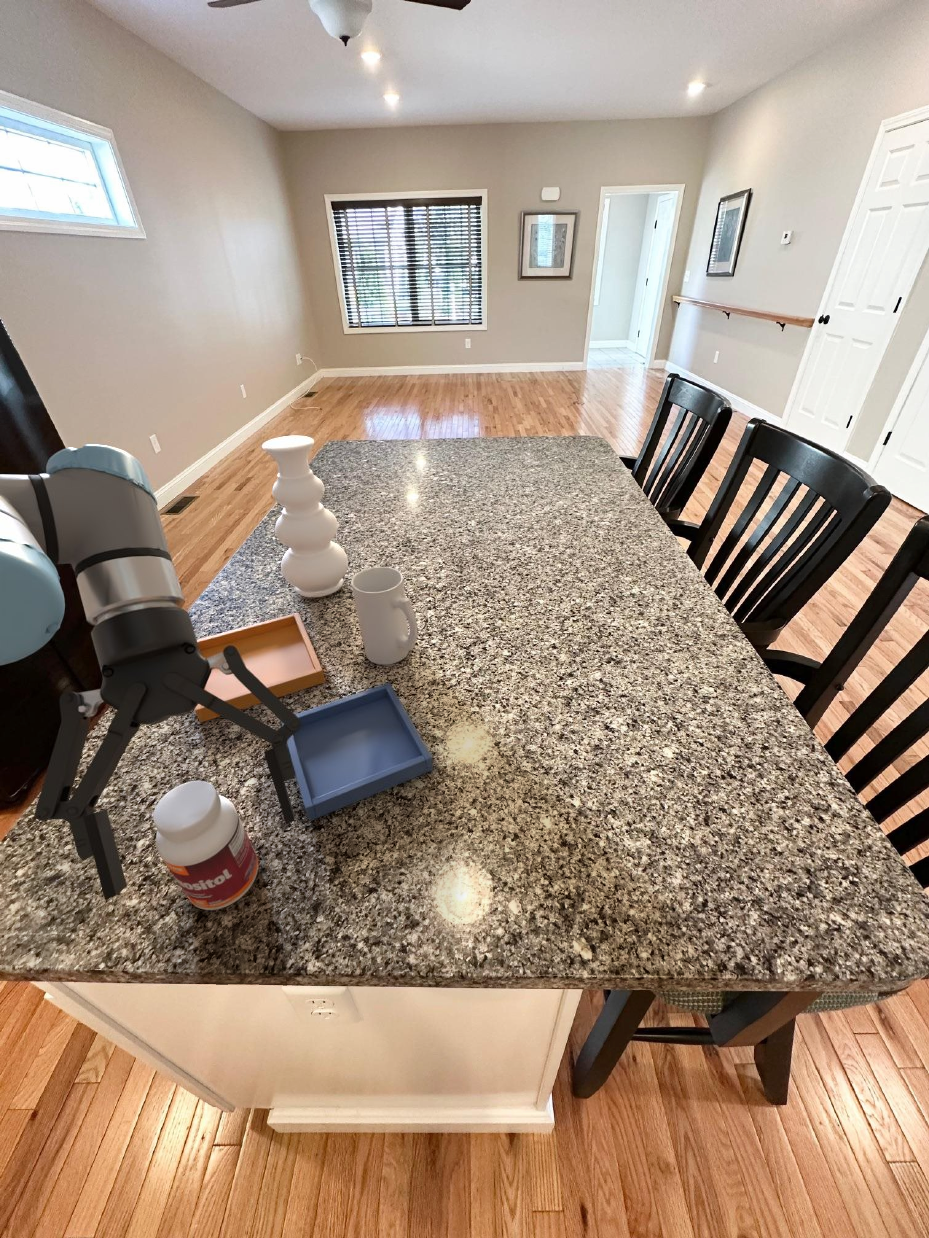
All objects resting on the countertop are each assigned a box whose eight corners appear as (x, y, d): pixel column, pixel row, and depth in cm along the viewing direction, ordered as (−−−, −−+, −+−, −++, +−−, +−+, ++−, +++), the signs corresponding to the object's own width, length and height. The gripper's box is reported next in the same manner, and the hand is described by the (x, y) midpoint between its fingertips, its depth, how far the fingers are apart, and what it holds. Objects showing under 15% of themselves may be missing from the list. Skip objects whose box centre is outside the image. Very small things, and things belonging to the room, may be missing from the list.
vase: (312, 568, 95) (280, 428, 80) (363, 577, 91) (340, 433, 77) (274, 598, 86) (231, 448, 72) (329, 610, 83) (296, 455, 69)
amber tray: (200, 722, 63) (194, 710, 62) (193, 653, 75) (188, 641, 73) (325, 682, 69) (322, 670, 67) (301, 623, 80) (298, 612, 79)
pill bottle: (177, 916, 44) (125, 843, 38) (202, 849, 49) (160, 775, 43) (250, 909, 44) (210, 837, 38) (267, 843, 50) (235, 769, 43)
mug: (354, 653, 73) (340, 581, 67) (389, 631, 78) (379, 561, 71) (402, 683, 68) (392, 608, 61) (437, 658, 72) (431, 585, 65)
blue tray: (309, 821, 51) (305, 808, 50) (284, 731, 61) (280, 719, 60) (433, 769, 56) (432, 757, 55) (391, 694, 66) (389, 682, 65)
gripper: (284, 592, 53) (349, 791, 51) (-8, 668, 44) (53, 913, 42) (282, 569, 46) (357, 798, 44) (-65, 654, 37) (4, 947, 35)
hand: (208, 855), depth 43 cm, fingers open, 13 cm apart
